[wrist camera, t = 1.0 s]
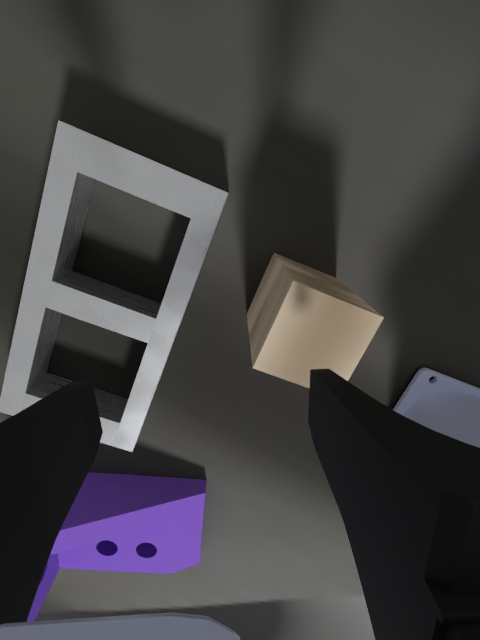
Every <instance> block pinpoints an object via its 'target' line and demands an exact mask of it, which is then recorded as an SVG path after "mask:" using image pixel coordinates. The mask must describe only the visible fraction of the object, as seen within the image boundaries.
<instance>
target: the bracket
mask: <svg viewBox="0 0 480 640" xmlns="http://www.w3.org/2000/svg"><path fill="white" fill-rule="evenodd" d="M205 492H206V480H203V479H188V478H172V477H157V476H141V475H126V474H111V473H95V472H88V474H87V476H86V478H85V480H84V482H83V484H82V486H81V488H80V490H79V492H78V494H77V496H76V498H75V500H74V502H73V504H72V506H71V508H70V510H69V512H68V515H67V517H66V519H65V521H64V523H63V525H62V527H61V529H60V531H59V534H58V536H57V538H56V541H55V543H54V546H53V548H52V551H51V554H50V557H49V559H48V562H47V565H46V567H45V570H44V573H43V575H42V578H41V581H40V584H39V587H38V590H37V593H36V595H35V598H34V601H33V604H32V607H31V610H30V613H29V616H28V619H27V622H33V621H34V620H35V618H36V616H37V615H38V613H39V611H40V608H41V606H42V604H43V602H44V600H45V598H46V596H47V593H48V591H49V589H50V587H51V585H52V583H53V581H54V579H55V576H56V574H57V572H58V570H59V568H66V569H85V570H104V571H124V572H143V573H162V574H171V573H174V572H177V571H180V570H183V569H186V568H189V567H191V566H194V565H197V564H199V561H200V551H201V539H202V527H203V515H204V503H205Z"/></svg>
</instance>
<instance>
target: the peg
mask: <svg viewBox="0 0 480 640" xmlns="http://www.w3.org/2000/svg"><path fill="white" fill-rule="evenodd" d="M383 319H384V317H383V316H382V315H380V314H379V313H378V312H377V311H376V310H374V309H373V308H372V307H371V306H370V305H368V304H367V303H366V302H365V301H363V300H362V299H361V298H360V297H359V296H357V295H356V294H355V293H354V292H353V291H351V290H350V289H349V288H348V287H346V286H345V285H344V284H343V283H342V282H340V281H339V280H338V279H337V278H335V277H332V276H330V275H328V274H325V273H323V272H320V271H318V270H315V269H313V268H311V267H308V266H306V265H303V264H301V263H298V262H296V261H294V260H291V259H289V258H286V257H284V256H281V255H279V254H276V253H273V255H272V257H271V259H270V262H269V264H268V266H267V269H266V271H265V273H264V276H263V278H262V280H261V283H260V285H259V287H258V289H257V292H256V294H255V296H254V299H253V301H252V303H251V306H250V308H249V310H248V313H247V321H248V330H249V339H250V348H251V357H252V366H253V368H254V369H257V370H259V371H262V372H265V373H268V374H271V375H273V376H276V377H279V378H282V379H285V380H287V381H290V382H293V383H296V384H299V385H301V386H304V387H307V388H310V370H311V369H330V370H332V371H333V372H335V373H336V374H338V375H339V376H341V377H342V378H344V379H345V380H347V381H348V380H349V378H350V376H351V375H352V373H353V371H354V369H355V368H356V366H357V364H358V362H359V361H360V359H361V357H362V355H363V354H364V352H365V350H366V348H367V347H368V345H369V343H370V341H371V340H372V338H373V336H374V334H375V333H376V331H377V329H378V327H379V326H380V324H381V322H382V320H383Z"/></svg>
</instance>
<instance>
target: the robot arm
mask: <svg viewBox="0 0 480 640" xmlns="http://www.w3.org/2000/svg"><path fill="white" fill-rule="evenodd" d="M433 376H434V378H433V379H432V380H430V381H429V379H430V378H431V377H433ZM308 422H309V426H310V430H311V435H312V438H313V442H314V446H315V449H316V452H317V454H318V457H319V460H320V462H321V465H322V467H323V470H324V472H325V475H326V477H327V480H328V482H329V485H330V487H331V490H332V492H333V495H334V497H335V500H336V502H337V505H338V507H339V510H340V513H341V515H342V518H343V521H344V524H345V528H346V531H347V535H348V538H349V541H350V545H351V548H352V552H353V555H354V559H355V563H356V566H357V570H358V574H359V577H360V581H361V585H362V588H363V592H364V596H365V600H366V604H367V608H368V612H369V615H370V619H371V623H372V627H373V631H374V635H375V639H376V640H480V388H478V387H475V386H472V385H470V384H467V383H465V382H462V381H460V380H457V379H454V378H452V377H449V376H447V375H444V374H441V373H439V372H436V371H434V370H431V369H429V368H421V369H420V370H418V371H417V373H416V374H415V376H414V377H413V379H412V381H411V382H410V384H409V385H408V387H407V388H406V390H405V392H404V393H403V395H402V396H401V398H400V399H399V401H398V403H397V404H396V406H395V407H394V409H393V410H392V409H390V408H388V407H387V406H385V405H383V404H382V403H380V402H378V401H377V400H375V399H373V398H372V397H370V396H369V395H367V394H366V393H364V392H363V391H361V390H360V389H358V388H357V387H355V386H354V385H352V384H351V383H349V382H348V381H347V380H345V379H344V378H342V377H341V376H339V375H338V374H336V373H335V372H333V371H332V370H330V369H311V370H310V390H309V416H308ZM102 433H103V430H102V426H101V421H100V416H99V411H98V406H97V401H96V397H95V392H94V387H93V382H92V380H91V381H73V382H71V383H69V384H67V385H65V386H63V387H61V388H59V389H58V390H56V391H54V392H52V393H51V394H49V395H47V396H46V397H44V398H42V399H41V400H39V401H37V402H36V403H34V404H32V405H31V406H29V407H27V408H26V409H24V410H22V411H21V412H19V413H17V414H16V415H14V416H12V417H10V418H8V419H7V420H5V421H3V422H1V423H0V640H241V639H240V637H239V636H238V635H237V634H236V633H235V632H234V631H233V630H232V629H230V628H228V627H226V626H224V625H222V624H221V623H219V622H217V621H215V620H213V619H211V618H209V617H208V616H202V615H192V614H182V613H172V612H171V613H157V614H142V615H126V616H111V617H95V618H80V619H66V620H50V621H35V622H27V619H28V616H29V613H30V610H31V607H32V604H33V601H34V598H35V595H36V593H37V590H38V587H39V584H40V581H41V578H42V575H43V573H44V570H45V567H46V565H47V562H48V559H49V557H50V554H51V551H52V548H53V546H54V543H55V541H56V538H57V536H58V534H59V531H60V529H61V527H62V525H63V523H64V521H65V519H66V517H67V515H68V512H69V510H70V508H71V506H72V504H73V502H74V500H75V498H76V496H77V494H78V492H79V490H80V488H81V486H82V484H83V482H84V480H85V478H86V476H87V474H88V472H89V469H90V467H91V465H92V463H93V461H94V458H95V455H96V453H97V450H98V447H99V443H100V440H101V437H102Z"/></svg>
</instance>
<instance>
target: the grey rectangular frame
mask: <svg viewBox="0 0 480 640" xmlns="http://www.w3.org/2000/svg"><path fill="white" fill-rule="evenodd" d="M96 180H98V181H101V182H103V183H106V184H108V185H111V186H113V187H115V188H118V189H120V190H123V191H125V192H128V193H130V194H132V195H135V196H137V197H140V198H142V199H145V200H147V201H150V202H152V203H154V204H157V205H159V206H162V207H164V208H167V209H169V210H171V211H174V212H176V213H179V214H181V215H184V216H186V217H188V218H191V220H190V223H189V225H188V228H187V231H186V234H185V237H184V240H183V243H182V246H181V249H180V251H179V254H178V257H177V260H176V263H175V266H174V269H173V272H172V275H171V277H170V280H169V283H168V286H167V289H166V292H165V295H164V298H163V301H162V303H158V302H156V301H153V300H150V299H147V298H145V297H142V296H139V295H137V294H134V293H131V292H129V291H126V290H123V289H120V288H118V287H115V286H112V285H110V284H107V283H104V282H102V281H99V280H96V279H94V278H91V277H88V276H85V275H83V274H80V273H77V272H75V271H73V269H74V265H75V261H76V257H77V253H78V249H79V245H80V241H81V237H82V233H83V229H84V225H85V221H86V217H87V213H88V209H89V205H90V201H91V197H92V193H93V189H94V185H95V181H96ZM228 195H229V193H228V192H225V191H223V190H221V189H218V188H216V187H214V186H211V185H209V184H207V183H204V182H202V181H200V180H197V179H195V178H193V177H190V176H188V175H186V174H183V173H181V172H179V171H176V170H174V169H172V168H169V167H167V166H165V165H162V164H160V163H158V162H155V161H153V160H151V159H148V158H146V157H144V156H141V155H139V154H137V153H134V152H132V151H130V150H127V149H125V148H123V147H120V146H118V145H116V144H113V143H111V142H109V141H106V140H104V139H102V138H99V137H97V136H95V135H92V134H90V133H88V132H85V131H83V130H81V129H78V128H76V127H74V126H71V125H69V124H66V123H64V122H62V121H59V120H58V124H57V129H56V134H55V138H54V143H53V148H52V153H51V158H50V162H49V167H48V172H47V177H46V182H45V186H44V191H43V196H42V201H41V206H40V210H39V215H38V220H37V225H36V230H35V234H34V239H33V244H32V249H31V254H30V258H29V263H28V268H27V273H26V277H25V282H24V287H23V292H22V297H21V301H20V306H19V311H18V316H17V321H16V325H15V330H14V335H13V340H12V345H11V349H10V354H9V359H8V364H7V369H6V373H5V378H4V383H3V388H2V393H1V397H0V412H2V413H5V414H9V415H12V416H14V415H16V414H17V413H19V412H21V411H22V410H24V409H26V408H27V407H29V406H31V405H32V404H34V403H36V402H37V401H39V400H41V399H42V398H44V397H46V396H47V395H49V394H51V393H52V392H54V391H56V390H58V389H59V388H61V387H63V386H65V385H67V384H69V383H71V382H73V381H72V380H69V379H66V378H63V377H60V376H57V375H54V374H51V373H48V368H49V364H50V360H51V356H52V352H53V348H54V344H55V340H56V336H57V332H58V328H59V324H60V320H61V316H62V313H63V314H66V315H69V316H72V317H75V318H77V319H80V320H83V321H86V322H89V323H92V324H94V325H97V326H100V327H103V328H106V329H109V330H111V331H114V332H117V333H120V334H123V335H126V336H129V337H131V338H134V339H137V340H140V341H143V342H146V343H148V344H147V347H146V350H145V353H144V356H143V358H142V361H141V364H140V367H139V370H138V373H137V376H136V379H135V382H134V384H133V387H132V390H131V393H130V396H129V399H127V398H124V397H121V396H118V395H115V394H112V393H109V392H106V391H103V390H100V389H97V388H94V392H95V397H96V401H97V406H98V411H99V416H100V421H101V426H102V430H103V433H102V437H101V440H100V443H104V444H107V445H110V446H113V447H117V448H120V449H123V450H126V451H130V452H133V449H134V447H135V444H136V442H137V439H138V436H139V434H140V431H141V429H142V426H143V424H144V421H145V418H146V416H147V413H148V410H149V407H150V405H151V402H152V399H153V397H154V394H155V391H156V389H157V386H158V383H159V381H160V378H161V375H162V372H163V370H164V367H165V364H166V362H167V359H168V356H169V354H170V351H171V348H172V346H173V343H174V340H175V337H176V335H177V332H178V329H179V327H180V324H181V321H182V319H183V316H184V313H185V311H186V308H187V305H188V303H189V300H190V297H191V294H192V292H193V289H194V286H195V284H196V281H197V278H198V276H199V273H200V270H201V268H202V265H203V262H204V259H205V257H206V254H207V251H208V249H209V246H210V243H211V241H212V238H213V235H214V233H215V230H216V227H217V224H218V222H219V219H220V216H221V214H222V211H223V208H224V206H225V203H226V200H227V198H228Z"/></svg>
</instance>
